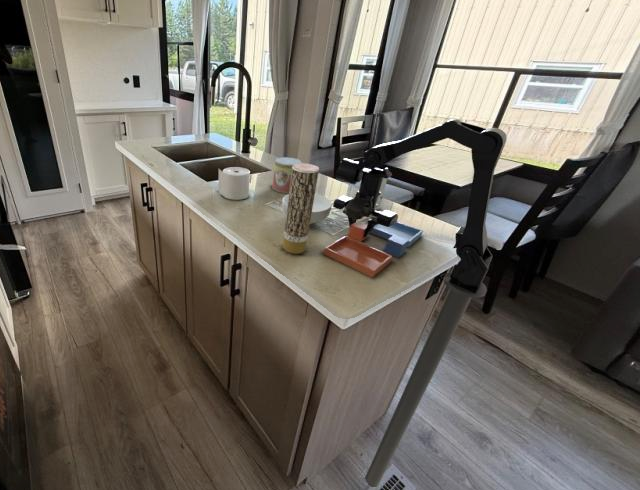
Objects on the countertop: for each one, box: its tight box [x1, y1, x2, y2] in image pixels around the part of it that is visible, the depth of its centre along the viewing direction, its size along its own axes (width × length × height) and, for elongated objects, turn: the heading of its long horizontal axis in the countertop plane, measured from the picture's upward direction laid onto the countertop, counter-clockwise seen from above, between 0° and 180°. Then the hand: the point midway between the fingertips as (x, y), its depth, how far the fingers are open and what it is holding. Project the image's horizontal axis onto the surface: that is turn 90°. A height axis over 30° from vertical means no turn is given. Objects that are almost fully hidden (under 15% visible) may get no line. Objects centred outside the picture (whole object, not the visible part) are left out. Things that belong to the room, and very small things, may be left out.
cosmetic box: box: [359, 178, 388, 211], centre depth 122 cm, size 8×6×15 cm
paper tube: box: [282, 162, 320, 255], centre depth 91 cm, size 7×7×25 cm
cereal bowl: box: [282, 193, 333, 225], centre depth 113 cm, size 17×17×7 cm
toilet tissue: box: [217, 166, 251, 201], centre depth 130 cm, size 11×12×10 cm
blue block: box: [383, 235, 409, 259], centre depth 97 cm, size 4×4×4 cm
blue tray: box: [365, 221, 424, 248], centre depth 108 cm, size 15×11×2 cm
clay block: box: [347, 220, 368, 243], centre depth 104 cm, size 4×4×4 cm
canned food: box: [271, 156, 303, 194], centre depth 138 cm, size 11×11×12 cm
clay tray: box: [323, 235, 393, 278], centre depth 93 cm, size 15×11×2 cm
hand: (358, 234), depth 105 cm, fingers closed on clay block, 4 cm apart
